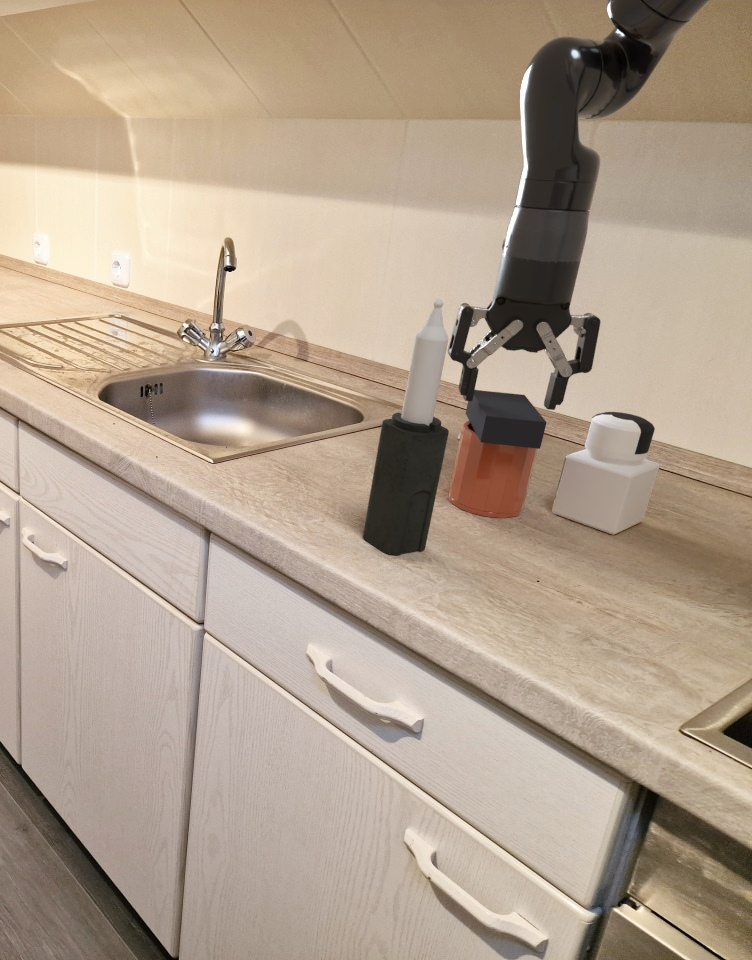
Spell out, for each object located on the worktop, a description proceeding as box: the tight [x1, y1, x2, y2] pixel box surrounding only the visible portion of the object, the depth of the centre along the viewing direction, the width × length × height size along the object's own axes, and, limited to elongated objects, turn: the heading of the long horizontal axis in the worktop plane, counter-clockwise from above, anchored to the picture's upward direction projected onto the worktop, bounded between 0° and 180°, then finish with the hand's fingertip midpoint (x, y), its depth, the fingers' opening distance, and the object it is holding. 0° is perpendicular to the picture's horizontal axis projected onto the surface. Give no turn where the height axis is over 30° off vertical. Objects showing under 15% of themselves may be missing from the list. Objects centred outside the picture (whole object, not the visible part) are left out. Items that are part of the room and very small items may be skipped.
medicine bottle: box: [551, 411, 660, 536], centre depth 94 cm, size 7×7×12 cm
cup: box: [448, 420, 539, 519], centre depth 97 cm, size 8×8×9 cm
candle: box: [362, 298, 450, 556], centre depth 83 cm, size 5×5×25 cm
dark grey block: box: [465, 389, 548, 450], centre depth 95 cm, size 6×11×3 cm, turn 167°
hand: (508, 403), depth 94 cm, fingers open, 8 cm apart
